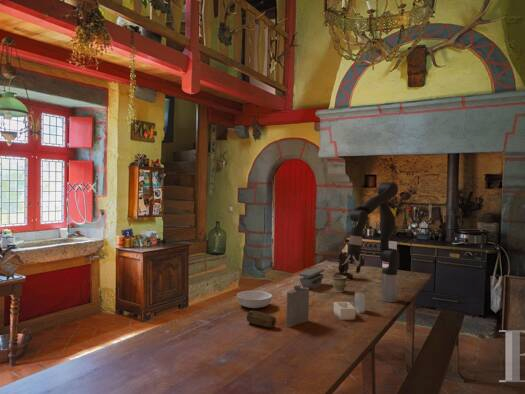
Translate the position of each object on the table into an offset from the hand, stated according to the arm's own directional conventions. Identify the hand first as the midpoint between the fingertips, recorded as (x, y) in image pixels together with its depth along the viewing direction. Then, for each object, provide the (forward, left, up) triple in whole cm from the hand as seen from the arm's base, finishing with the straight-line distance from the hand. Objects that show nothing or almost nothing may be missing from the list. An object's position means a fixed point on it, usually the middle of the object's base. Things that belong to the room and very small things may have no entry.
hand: (351, 271), depth 232 cm
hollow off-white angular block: (+8, +11, -22) cm, 26 cm away
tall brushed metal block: (-4, +3, -23) cm, 23 cm away
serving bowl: (+56, -9, -23) cm, 61 cm away
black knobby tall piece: (-22, -78, -23) cm, 85 cm away
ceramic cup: (-7, -39, -23) cm, 46 cm away
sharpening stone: (+10, -53, -23) cm, 59 cm away
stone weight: (+56, +23, -23) cm, 64 cm away
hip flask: (+37, +21, -23) cm, 48 cm away
